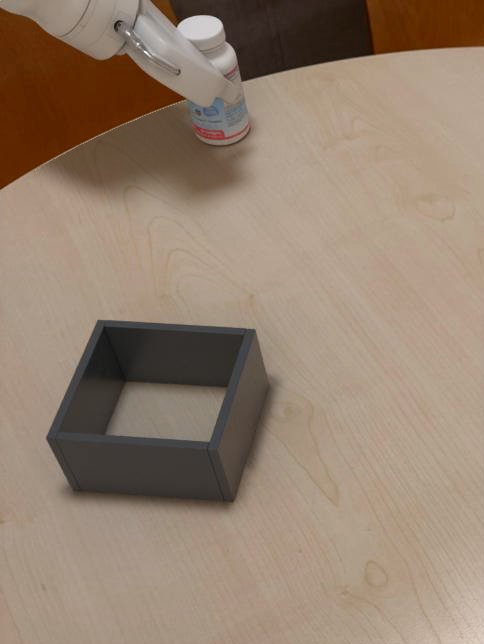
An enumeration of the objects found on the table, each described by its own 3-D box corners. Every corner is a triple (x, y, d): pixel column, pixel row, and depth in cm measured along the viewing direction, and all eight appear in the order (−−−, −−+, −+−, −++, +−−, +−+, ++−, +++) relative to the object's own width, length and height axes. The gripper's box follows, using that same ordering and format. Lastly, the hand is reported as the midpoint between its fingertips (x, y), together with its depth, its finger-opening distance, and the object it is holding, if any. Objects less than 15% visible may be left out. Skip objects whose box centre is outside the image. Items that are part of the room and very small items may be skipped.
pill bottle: (184, 136, 116) (156, 31, 107) (221, 109, 119) (197, 4, 109) (225, 154, 114) (200, 49, 105) (262, 126, 117) (241, 21, 107)
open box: (77, 501, 88) (45, 438, 82) (124, 385, 96) (97, 319, 89) (237, 512, 87) (216, 449, 81) (272, 394, 95) (255, 328, 88)
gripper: (158, 20, 95) (274, 91, 106) (70, -70, 104) (186, 3, 115) (126, 85, 97) (243, 147, 108) (43, -9, 106) (159, 58, 117)
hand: (213, 73), depth 112 cm, fingers open, 8 cm apart
